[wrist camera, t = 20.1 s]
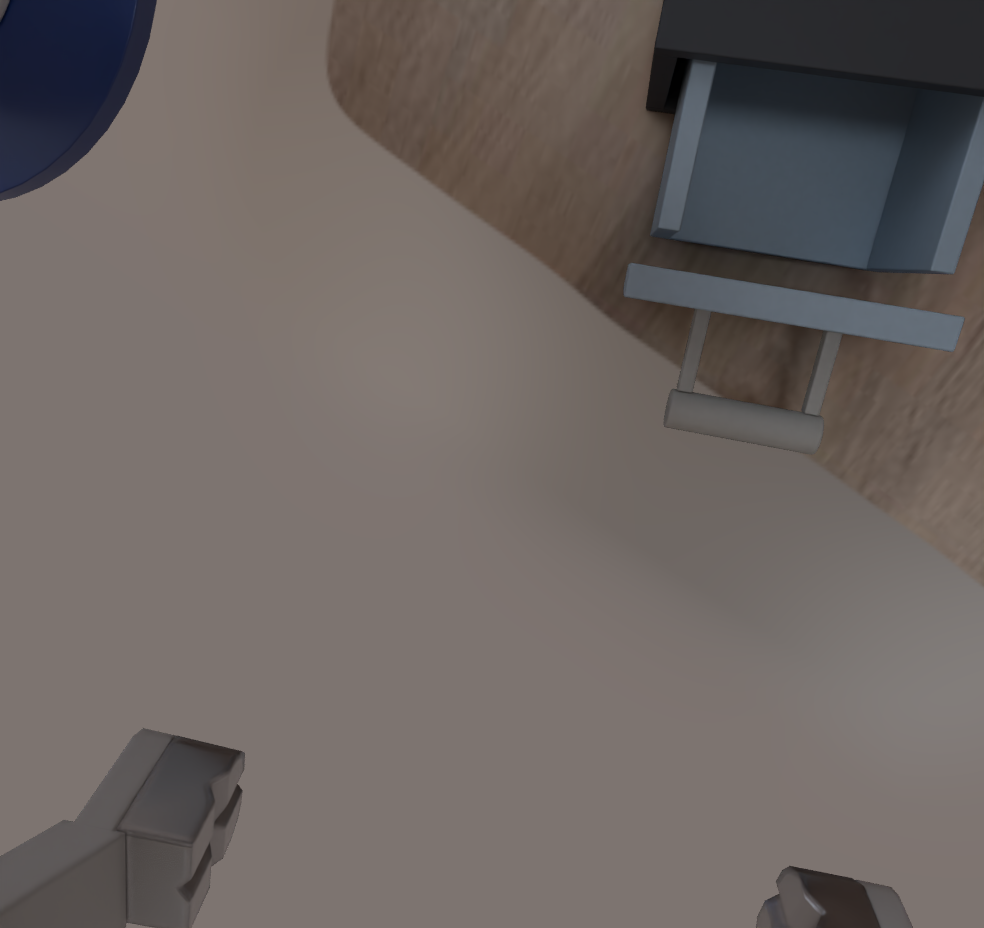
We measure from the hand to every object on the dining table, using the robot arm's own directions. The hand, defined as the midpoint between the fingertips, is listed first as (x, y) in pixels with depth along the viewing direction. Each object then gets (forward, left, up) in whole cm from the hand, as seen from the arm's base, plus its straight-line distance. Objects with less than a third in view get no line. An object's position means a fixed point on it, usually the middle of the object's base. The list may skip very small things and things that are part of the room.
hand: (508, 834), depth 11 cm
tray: (+6, +11, -27) cm, 30 cm away
